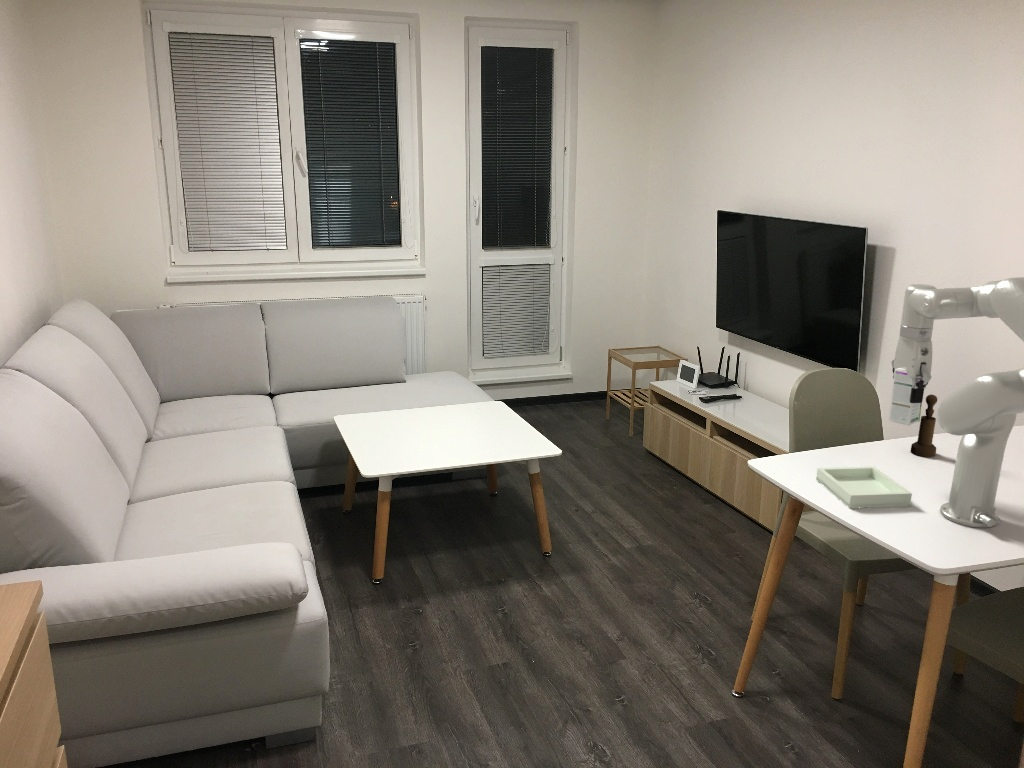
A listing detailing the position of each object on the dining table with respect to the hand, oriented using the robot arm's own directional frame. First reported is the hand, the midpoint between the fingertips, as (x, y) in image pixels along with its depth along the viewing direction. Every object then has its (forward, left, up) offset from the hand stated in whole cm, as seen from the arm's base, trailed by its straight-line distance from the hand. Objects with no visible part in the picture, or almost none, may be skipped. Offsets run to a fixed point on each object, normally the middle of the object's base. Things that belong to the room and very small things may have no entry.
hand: (906, 397), depth 217 cm
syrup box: (0, 0, -7) cm, 7 cm away
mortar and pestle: (+17, -19, -23) cm, 35 cm away
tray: (-9, +14, -23) cm, 28 cm away
